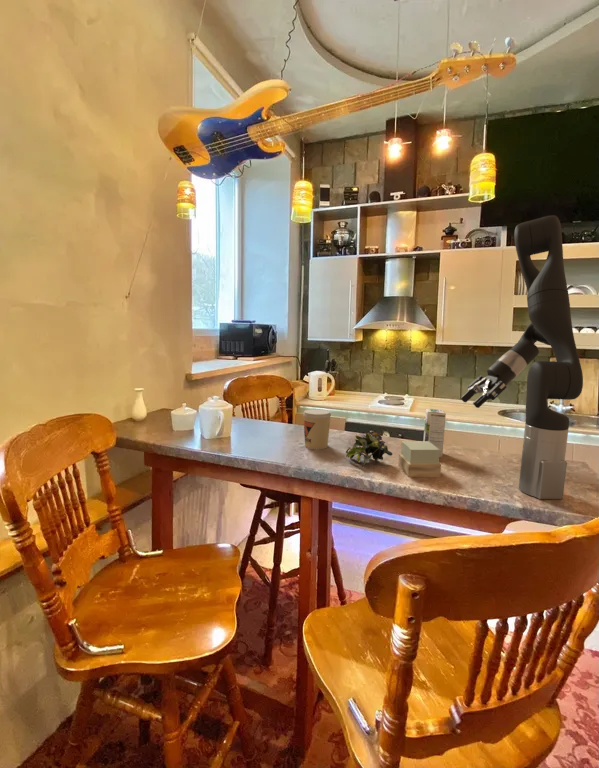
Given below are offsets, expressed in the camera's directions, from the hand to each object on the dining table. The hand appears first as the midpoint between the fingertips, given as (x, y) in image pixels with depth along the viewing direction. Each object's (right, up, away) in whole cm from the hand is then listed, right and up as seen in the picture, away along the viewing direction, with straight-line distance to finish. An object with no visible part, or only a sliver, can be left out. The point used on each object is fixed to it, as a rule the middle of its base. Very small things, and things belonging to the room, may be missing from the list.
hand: (468, 403), depth 130 cm
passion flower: (-34, -18, -8) cm, 39 cm away
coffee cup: (-49, -15, +8) cm, 52 cm away
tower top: (-20, -15, -14) cm, 29 cm away
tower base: (-20, -19, -14) cm, 31 cm away
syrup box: (-11, -17, +2) cm, 20 cm away
